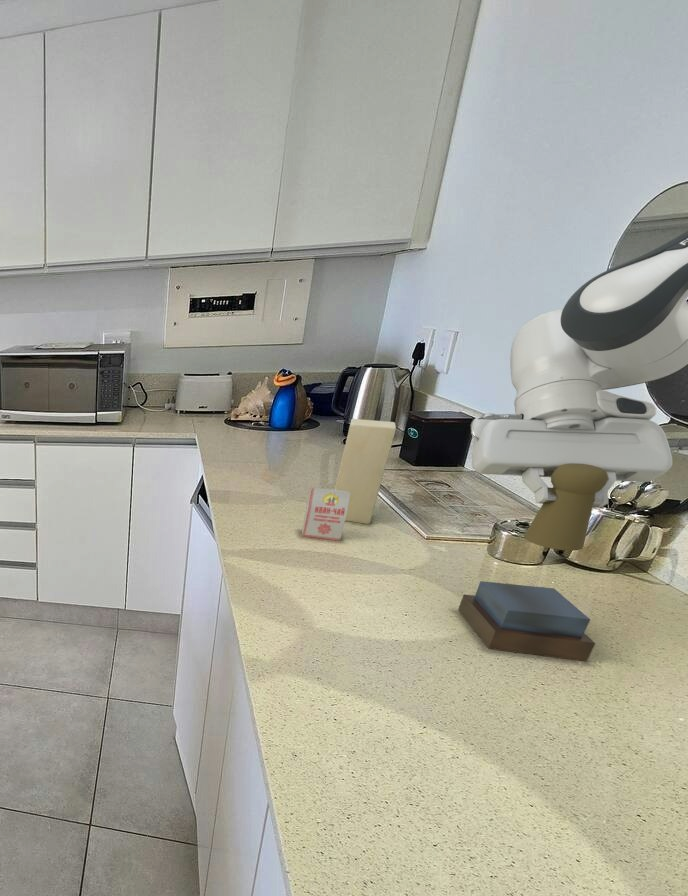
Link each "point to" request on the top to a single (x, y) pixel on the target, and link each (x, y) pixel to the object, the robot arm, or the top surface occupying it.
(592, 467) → the cork
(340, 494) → the tea bag
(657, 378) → the robot arm
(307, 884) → the top surface
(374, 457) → the cream tall block
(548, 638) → the block stack
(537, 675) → the top surface
